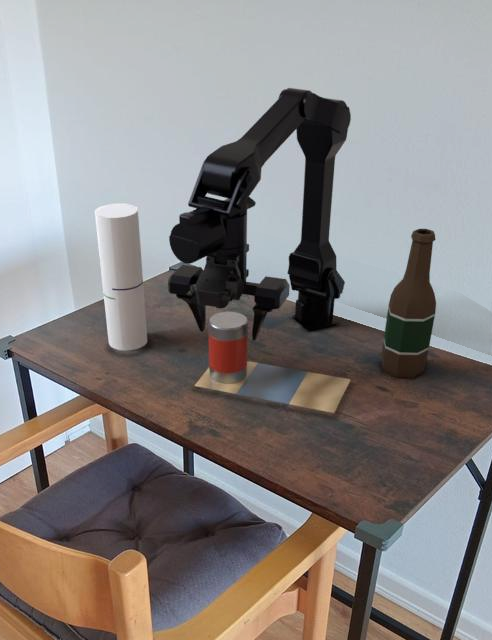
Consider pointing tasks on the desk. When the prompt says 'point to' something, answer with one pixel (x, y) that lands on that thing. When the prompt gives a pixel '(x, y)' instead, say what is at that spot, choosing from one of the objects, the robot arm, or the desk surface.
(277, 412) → the desk surface
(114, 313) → the cylindrical container
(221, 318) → the tin can
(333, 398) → the board
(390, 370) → the beer bottle
